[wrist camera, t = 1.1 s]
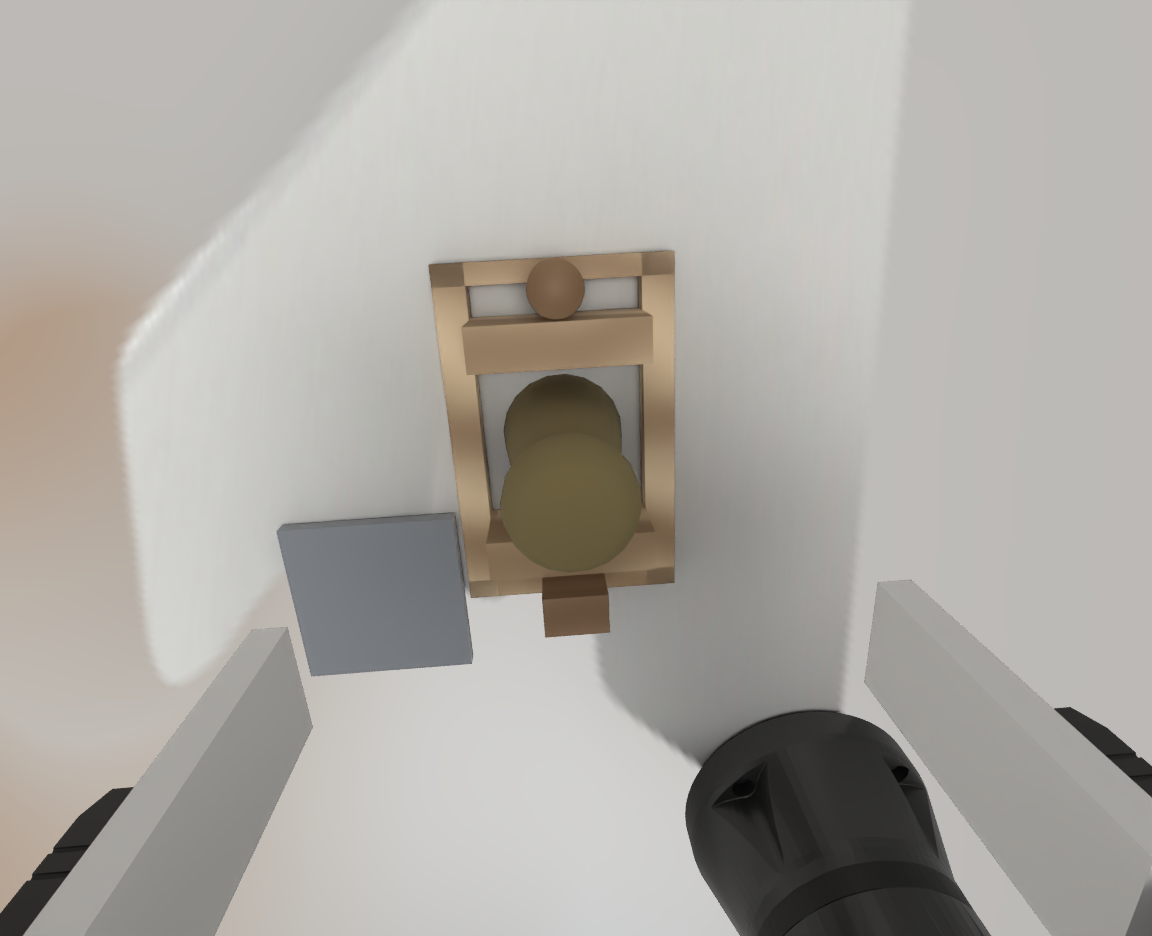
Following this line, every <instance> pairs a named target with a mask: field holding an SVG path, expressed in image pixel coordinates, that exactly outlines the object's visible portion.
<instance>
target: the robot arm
mask: <svg viewBox="0 0 1152 936" xmlns="http://www.w3.org/2000/svg"><path fill="white" fill-rule="evenodd" d="M865 684H866V685H867V687H868V688H869V689H870V691H871V692H872V693H873V695H874V696H875V697H876V699H877V700H878V701H879V703H880V704H881V705H882V707H883V708H884V709H885V711H886V712H887V713H888V715H889V716H890V717H891V719H892V720H893V722H894V723H895V724H896V726H897V727H898V728H899V730H900V731H901V733H902V734H903V735H904V737H905V738H906V739H907V741H908V742H909V743H910V745H911V746H912V747H913V749H914V750H915V751H916V753H917V754H918V755H919V757H920V758H921V759H922V761H923V762H924V764H925V765H926V766H927V768H928V769H929V770H930V772H931V773H932V774H933V776H934V777H935V778H936V780H937V781H938V783H939V784H940V785H941V787H942V788H943V789H944V791H945V792H946V793H947V795H948V796H949V797H950V799H951V800H952V801H953V803H954V804H955V806H956V807H957V808H958V810H959V811H960V812H961V814H962V815H963V816H964V818H965V819H966V820H967V822H968V823H969V824H970V826H971V827H972V829H973V830H974V831H975V833H976V834H977V835H978V836H979V838H980V839H981V841H982V842H983V843H984V845H985V846H986V848H987V849H988V850H989V852H990V853H991V854H992V856H993V857H994V858H995V859H996V861H997V862H998V864H999V865H1000V866H1001V868H1002V869H1003V870H1004V872H1005V873H1006V874H1007V876H1008V877H1009V878H1010V880H1011V881H1012V883H1013V884H1014V885H1015V887H1016V888H1017V889H1018V891H1019V892H1020V893H1021V895H1022V896H1023V897H1024V899H1025V900H1026V901H1027V903H1028V904H1029V905H1030V907H1031V908H1032V910H1033V911H1034V912H1035V914H1036V915H1037V916H1038V918H1039V919H1040V920H1041V922H1042V923H1043V925H1044V926H1045V927H1046V929H1047V930H1048V931H1049V933H1050V934H1051V935H1052V936H1152V766H1151V765H1150V764H1148V763H1147V762H1146V761H1145V760H1144V759H1143V758H1138V757H1137V756H1136V752H1134V751H1133V750H1132V749H1131V748H1130V747H1128V746H1127V745H1126V744H1125V743H1124V742H1123V741H1122V740H1120V739H1119V738H1118V737H1117V736H1116V735H1115V734H1113V733H1112V732H1111V731H1110V730H1109V729H1108V728H1106V727H1104V726H1103V725H1101V724H1099V723H1097V722H1096V721H1094V720H1092V719H1090V718H1089V717H1087V716H1085V715H1083V714H1082V713H1080V712H1078V711H1076V710H1074V709H1072V708H1071V707H1067V708H1055V709H1053V708H1052V707H1051V706H1050V705H1049V704H1048V703H1046V702H1045V701H1044V700H1043V699H1042V698H1041V697H1040V696H1039V695H1038V694H1037V693H1036V692H1034V691H1033V690H1032V689H1031V688H1030V687H1029V686H1028V685H1027V684H1026V683H1025V682H1023V681H1022V680H1021V679H1020V678H1019V677H1018V676H1017V675H1016V674H1015V673H1013V672H1012V671H1011V670H1010V669H1009V668H1008V667H1007V666H1006V665H1004V663H1002V662H1001V661H1000V660H999V659H998V658H997V657H996V656H995V655H994V654H992V653H991V652H990V651H989V650H988V649H987V648H986V647H985V646H984V645H982V644H981V643H980V642H979V641H978V640H977V639H976V638H975V637H974V636H972V634H970V633H969V632H968V631H967V630H966V629H965V628H964V627H963V626H962V625H960V624H959V623H958V622H957V621H956V620H955V619H954V618H953V617H951V615H949V614H948V613H947V612H946V611H945V610H944V609H942V607H941V606H939V605H938V604H937V603H936V602H935V601H934V600H933V599H932V598H931V597H929V596H928V595H927V594H926V593H925V592H924V591H923V590H922V589H921V588H920V587H919V586H917V585H916V584H915V583H914V582H913V581H912V580H901V581H888V582H878V584H877V592H876V599H875V607H874V614H873V622H872V629H871V636H870V644H869V652H868V659H867V666H866V674H865ZM312 728H313V726H312V722H311V718H310V714H309V710H308V706H307V702H306V698H305V695H304V690H303V686H302V682H301V678H300V674H299V671H298V666H297V663H296V659H295V654H294V651H293V647H292V643H291V639H290V635H289V631H288V627H281V628H267V629H254V630H251V632H250V633H249V634H248V636H247V637H246V638H245V640H244V641H243V642H242V644H241V645H240V646H239V648H238V649H237V650H236V652H235V653H234V654H233V656H232V657H231V658H230V660H229V661H228V662H227V664H226V665H225V666H224V668H223V669H222V670H221V672H220V673H219V674H218V676H217V677H216V678H215V680H214V681H213V682H212V684H211V685H210V686H209V688H208V689H207V690H206V692H205V693H204V694H203V696H202V697H201V698H200V700H199V701H198V702H197V704H196V705H195V706H194V708H193V709H192V710H191V712H190V713H189V715H188V716H187V717H186V718H185V720H184V721H183V722H182V724H181V725H180V726H179V728H178V729H177V730H176V732H175V733H174V734H173V736H172V737H171V738H170V740H169V741H168V742H167V744H166V745H165V747H164V748H163V749H162V751H161V752H160V753H159V755H158V756H157V757H156V758H155V760H154V761H153V763H152V764H151V765H150V766H149V768H148V769H147V771H146V772H145V773H144V775H143V776H142V777H141V778H140V780H139V781H138V782H137V784H136V785H135V786H134V787H130V788H120V789H119V788H118V789H112V790H111V791H109V792H108V793H107V794H106V795H104V796H103V797H102V798H101V799H100V800H98V801H97V802H96V803H95V804H93V805H92V806H91V807H90V808H88V809H87V810H86V811H85V812H84V813H82V814H81V815H80V816H79V817H78V818H77V819H76V820H75V822H74V823H73V824H72V825H71V827H70V828H69V829H68V830H67V832H66V833H65V834H64V835H63V837H62V838H61V839H60V840H59V841H58V843H57V844H56V845H55V846H54V848H53V849H54V850H53V853H52V854H48V855H47V856H46V858H45V859H44V860H43V861H42V862H41V864H40V865H39V866H38V867H37V869H36V870H35V871H34V872H33V874H32V879H31V880H30V881H26V882H25V884H24V885H23V886H22V887H21V889H20V890H19V891H18V893H16V895H15V896H14V897H13V898H12V900H11V901H10V902H9V903H8V905H7V906H6V907H5V908H4V910H3V911H2V912H1V913H0V936H215V934H216V931H217V929H218V927H219V925H220V923H221V921H222V919H223V917H224V914H225V912H226V910H227V908H228V906H229V904H230V902H231V900H232V897H233V895H234V893H235V891H236V889H237V887H238V885H239V883H240V881H241V878H242V876H243V874H244V872H245V870H246V868H247V866H248V863H249V861H250V859H251V857H252V855H253V853H254V851H255V849H256V847H257V844H258V842H259V840H260V838H261V836H262V834H263V832H264V830H265V827H266V825H267V823H268V821H269V819H270V817H271V815H272V813H273V811H274V808H275V806H276V804H277V802H278V800H279V798H280V796H281V794H282V791H283V789H284V787H285V785H286V783H287V781H288V779H289V777H290V774H291V772H292V770H293V768H294V766H295V764H296V762H297V759H298V757H299V755H300V753H301V751H302V749H303V747H304V745H305V742H306V740H307V738H308V736H309V734H310V732H311V730H312ZM685 815H686V816H685V817H686V827H687V831H688V835H689V839H690V842H691V846H692V850H693V854H694V858H695V861H696V863H697V866H698V868H699V870H700V872H701V875H702V876H703V878H704V880H705V881H706V883H707V884H708V886H709V887H710V889H711V891H712V892H713V894H714V895H715V897H716V898H717V900H718V902H719V903H720V905H721V906H722V908H723V909H724V911H725V913H726V914H727V916H728V917H729V919H730V920H731V922H732V923H733V925H734V927H735V928H736V930H737V931H738V933H739V935H740V936H991V935H990V934H989V932H988V930H987V929H986V927H985V926H984V924H983V923H982V921H981V920H980V919H979V917H978V916H977V914H976V913H975V911H974V910H973V908H972V907H971V905H970V904H969V902H968V901H967V899H966V898H965V896H964V894H963V893H962V891H961V890H960V888H959V886H958V885H957V883H956V882H955V880H954V878H953V874H952V871H951V868H950V865H949V861H948V858H947V855H946V851H945V848H944V845H943V842H942V838H941V835H940V832H939V829H938V825H937V822H936V819H935V815H934V812H933V809H932V806H931V803H930V799H929V796H928V793H927V790H926V787H925V785H924V783H923V781H922V779H921V777H920V775H919V773H918V772H917V770H916V769H915V767H914V766H913V764H912V763H911V762H910V760H909V759H908V757H907V756H906V755H905V753H904V752H903V751H902V749H901V748H900V746H899V745H898V744H897V743H896V742H895V740H894V739H893V738H892V737H891V736H890V735H888V734H887V733H886V732H885V731H883V730H882V729H880V728H879V727H877V726H875V725H874V724H872V723H870V722H868V721H865V720H863V719H860V718H857V717H854V716H850V715H846V714H841V713H834V712H804V713H796V714H791V715H786V716H782V717H778V718H775V719H771V720H768V721H766V722H763V723H761V724H758V725H756V726H754V727H752V728H750V729H748V730H746V731H744V732H742V733H740V734H739V735H737V736H736V737H734V738H733V739H731V740H730V741H728V742H727V743H726V744H724V745H723V746H722V747H721V748H720V749H719V750H717V751H716V752H715V753H714V754H713V755H712V756H711V757H710V759H709V760H708V761H707V762H706V763H705V764H704V766H703V767H702V768H701V770H700V771H699V773H698V775H697V776H696V778H695V780H694V782H693V784H692V786H691V789H690V791H689V794H688V798H687V803H686V812H685Z"/></svg>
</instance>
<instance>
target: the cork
mask: <svg viewBox="0 0 1152 936" xmlns="http://www.w3.org/2000/svg"><path fill="white" fill-rule="evenodd" d="M504 437H505V444H506V449H507V453H508V457H509V461H510V465H511V468H510V470H509V471H508V473H507V475H506V477H505V480H504V485H503V491H502V496H501V501H500V506H501V513H502V519H503V524H504V526H505V528H506V530H507V532H508V534H509V536H510V538H511V540H512V542H513V543H514V545H515V547H516V548H517V549H518V550H519V551H520V552H521V553H522V554H524V555H525V556H526V557H527V558H528V559H529V560H530V561H532V562H534V563H536V564H538V565H540V566H542V567H544V568H546V569H549V570H555V571H561V572H567V573H571V572H580V571H588V570H592V569H594V568H596V567H599V566H601V565H604V564H606V563H608V562H610V561H611V560H612V559H613V558H615V557H616V556H617V555H618V554H620V553H621V552H622V551H623V550H624V549H625V548H626V546H627V545H628V543H629V542H630V540H631V539H632V537H633V536H634V534H635V533H636V529H637V526H638V522H639V518H640V515H641V510H642V501H641V487H640V485H639V483H638V480H637V478H636V476H635V473H634V471H633V469H632V467H631V465H630V463H629V462H628V461H627V459H626V458H625V457H624V456H623V455H622V454H621V437H622V435H621V422H620V416H619V414H618V411H617V409H616V407H615V404H614V402H613V400H612V399H611V398H610V397H609V396H608V395H607V394H606V392H605V391H604V390H603V389H602V388H601V387H600V386H598V385H596V384H594V383H593V382H591V381H589V380H587V379H586V378H582V377H578V376H573V375H568V374H563V375H554V376H546V377H544V378H542V379H540V380H537V381H535V382H533V383H531V384H529V385H528V386H527V387H526V388H525V389H524V390H523V391H521V392H520V393H519V394H518V395H517V396H516V397H515V399H514V401H513V403H512V404H511V406H510V408H509V410H508V412H507V414H506V420H505V425H504Z"/></svg>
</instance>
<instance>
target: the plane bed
mask: <svg viewBox="0 0 1152 936" xmlns="http://www.w3.org/2000/svg"><path fill="white" fill-rule="evenodd" d="M429 273H430V281H431V288H432V296H433V304H434V312H435V320H436V328H437V335H438V343H439V351H440V359H441V367H442V375H443V382H444V390H445V398H446V406H447V414H448V422H449V429H450V437H451V445H452V453H453V461H454V469H455V476H456V484H457V492H458V500H459V508H460V516H461V523H462V531H463V539H464V547H465V555H466V563H467V570H468V578H469V586H470V594H471V598H477V597H490V596H503V595H517V594H530V593H542V602H543V613H544V627H545V637H557V636H570V635H583V634H596V633H609V632H610V621H609V596H608V590H607V588H610V587H624V586H637V585H650V584H664V583H674V394H675V251H655V252H637V253H620V254H602V255H585V256H567V257H550V258H532V259H515V260H497V261H480V262H462V263H445V264H430V265H429ZM632 276H638V308H623V309H606V310H590V311H576V310H577V309H578V308H579V306H580V305H581V303H582V301H583V297H584V292H585V286H584V281H583V279H598V278H615V277H632ZM512 283H527V284H526V293H527V298H528V301H529V303H530V305H531V306H532V308H533V309H534V310H535V311H536V312H537V313H538V314H523V315H506V316H490V317H473V318H472V317H471V308H470V299H469V290H468V286H478V285H495V284H512ZM639 364H640V417H641V471H642V500H641V501H642V510H641V515H640V518H639V522H638V526H637V529H636V533H635V534H634V536H633V537H632V539H631V540H630V542H629V543H628V545H627V546H626V548H625V549H624V550H623V551H622V552H621V553H620V554H618V555H617V556H616V557H615V558H613V559H612V560H611V561H610V562H608V563H606V564H604V565H601V566H599V567H596V568H594V569H592V570H588V571H580V572H571V573H567V572H561V571H555V570H549V569H546V568H544V567H542V566H540V565H538V564H536V563H534V562H532V561H530V560H529V559H528V558H527V557H526V556H525V555H524V554H522V553H521V552H520V551H519V550H518V549H517V548H516V547H515V545H514V543H513V542H512V540H511V538H510V536H509V534H508V532H507V530H506V528H505V526H504V524H503V519H502V513H501V510H492V502H491V493H490V484H489V475H488V465H487V456H486V447H485V438H484V428H483V419H482V410H481V401H480V391H479V382H478V375H480V374H496V373H512V372H528V371H544V370H560V369H575V368H591V367H607V366H623V365H639Z"/></svg>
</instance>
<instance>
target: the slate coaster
mask: <svg viewBox="0 0 1152 936" xmlns="http://www.w3.org/2000/svg"><path fill="white" fill-rule="evenodd" d="M276 532H277V536H278V540H279V544H280V548H281V553H282V557H283V561H284V565H285V569H286V573H287V578H288V582H289V586H290V590H291V594H292V598H293V602H294V607H295V611H296V615H297V619H298V623H299V627H300V632H301V635H302V640H303V644H304V648H305V652H306V656H307V661H308V665H309V669H310V673H311V676H321V675H333V674H334V675H335V674H347V673H360V672H371V671H372V672H373V671H384V670H398V669H411V668H423V667H436V666H449V665H461V664H472V659H473V650H472V642H471V634H470V627H469V619H468V613H467V605H466V596H465V589H464V581H463V573H462V566H461V558H460V551H459V543H458V535H457V528H456V520H455V513H445V514H430V515H416V516H402V517H388V518H373V519H359V520H345V521H331V522H317V523H302V524H288V525H282V526H281V527H280V528H279V529H278V530H277V531H276Z"/></svg>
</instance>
